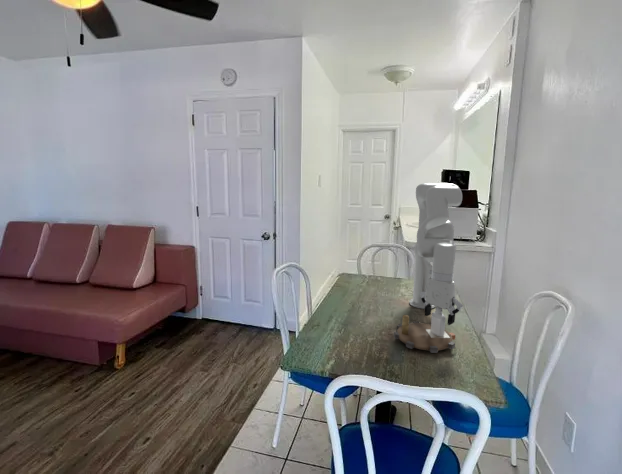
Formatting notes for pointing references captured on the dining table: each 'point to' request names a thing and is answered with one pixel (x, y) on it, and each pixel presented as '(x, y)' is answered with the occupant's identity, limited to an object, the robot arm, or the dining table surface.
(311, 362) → the dining table surface
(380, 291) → the dining table surface
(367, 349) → the dining table surface
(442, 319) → the eye dropper bottle
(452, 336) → the sprocket
